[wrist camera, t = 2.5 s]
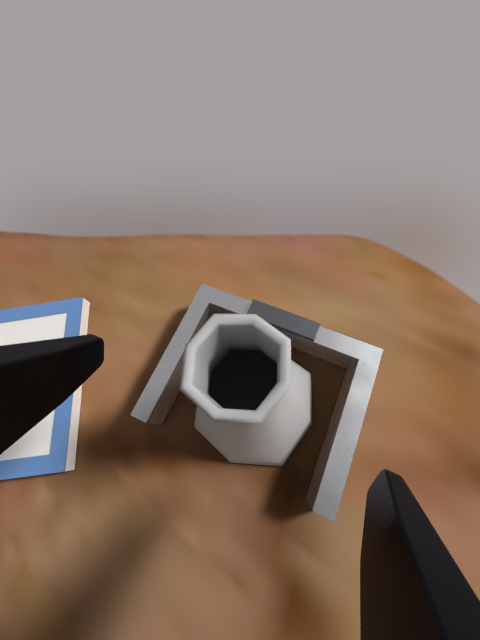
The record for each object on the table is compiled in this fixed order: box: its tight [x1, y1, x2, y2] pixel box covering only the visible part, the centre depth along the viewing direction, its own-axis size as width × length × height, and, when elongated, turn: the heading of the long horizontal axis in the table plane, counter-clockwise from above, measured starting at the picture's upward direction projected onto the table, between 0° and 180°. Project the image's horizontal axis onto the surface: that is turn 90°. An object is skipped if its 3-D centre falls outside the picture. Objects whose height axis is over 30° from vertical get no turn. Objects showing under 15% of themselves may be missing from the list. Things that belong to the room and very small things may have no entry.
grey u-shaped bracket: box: [130, 284, 383, 522], centre depth 16 cm, size 8×11×3 cm
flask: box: [179, 314, 313, 466], centre depth 12 cm, size 7×7×10 cm
